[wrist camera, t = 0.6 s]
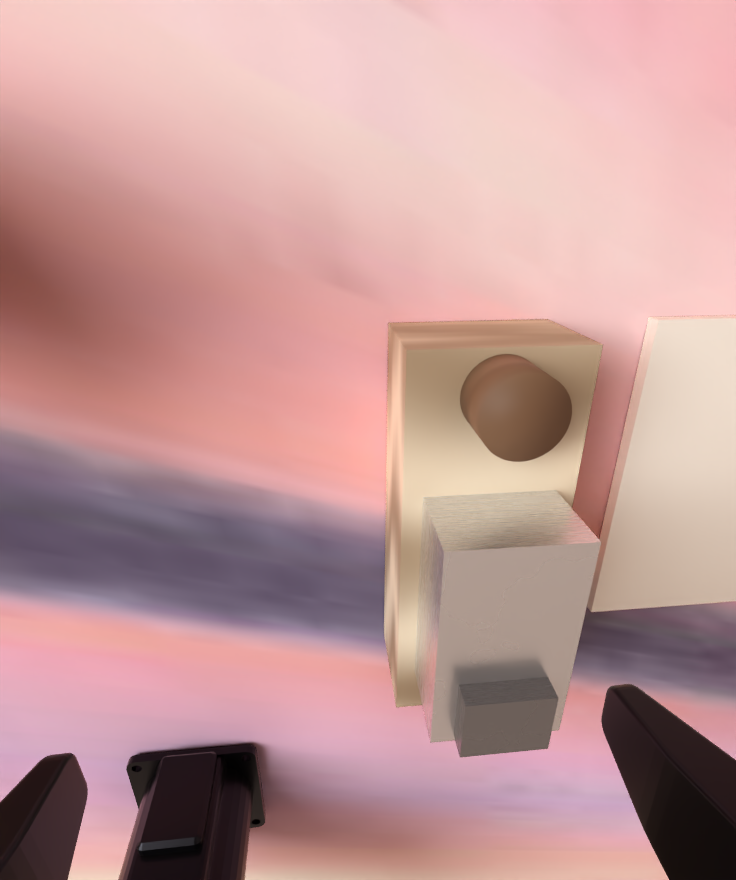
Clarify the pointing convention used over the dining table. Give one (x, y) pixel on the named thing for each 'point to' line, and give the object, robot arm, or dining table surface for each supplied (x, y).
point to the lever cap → (500, 616)
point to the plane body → (473, 437)
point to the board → (674, 474)
